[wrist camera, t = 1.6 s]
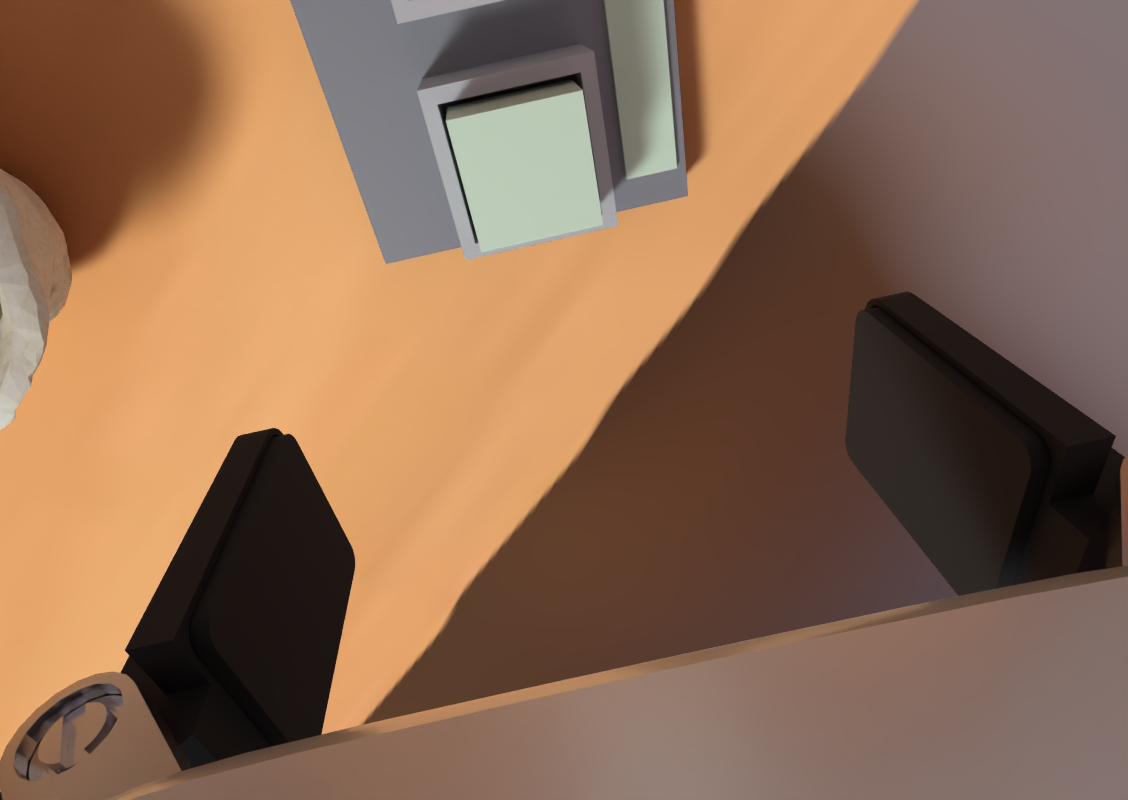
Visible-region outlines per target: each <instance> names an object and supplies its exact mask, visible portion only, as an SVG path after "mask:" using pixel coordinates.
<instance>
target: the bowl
mask: <svg viewBox="0 0 1128 800" xmlns="http://www.w3.org/2000/svg"><path fill="white" fill-rule="evenodd" d="M69 262H70V260H69V256H68V253H67V244H66V242H65V237H64V233H63V231H62V230H61V228H60V226H59V225H58V223H57V222H56V220H55V219H54V217H53V216H52V214H51V213H50V211H49V209H48V208H47V206H46V204H45V203H44V202H43V201H42V200H41V199H40V198H39V197H38V195H37V194H36V193H35V192H34V191H33V190H31V189H30V188H29V187H28V186H27V185H26V184H25V183H23V182H22V181H20V180H18V179H17V178H15V177H13V176H12V175H10V174H8V173H7V172H5V171H3V170H2V169H1V168H0V429H3V428H4V427H6V426H7V425H9V424H10V423H11V422H12V421H13V420H14V419H15V412H16V407H17V406H18V404H19V403H20V401H21V400H22V398H23V396H24V395H25V394H26V392H27V391H28V390H29V388H30V387H31V382H32V376H33V374H34V373H35V371H36V369H37V367H38V365H39V364H40V362H41V359H42V356H43V353H44V351H45V348H46V344H47V335H48V327H49V322H50V321H51V320H52V319H54V318H55V317H56V316H57V315H58V314H59V312H60V310H61V309H62V308H63V306H64V305H65V303H66V299H67V297H68V293H69V290H70V286H71V281H72V271H71V266H70V263H69Z"/></svg>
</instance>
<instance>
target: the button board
mask: <svg viewBox="0 0 1128 800" xmlns="http://www.w3.org/2000/svg"><path fill="white" fill-rule="evenodd" d="M290 1H291V4H292V6H293V9H294V12H295V15H296V17H297V20H298V23H299V26H300V29H301V31H302V34H303V37H304V40H305V42H306V45H307V48H308V51H309V53H310V56H311V59H312V62H313V64H314V67H315V70H316V73H317V75H318V78H319V81H320V84H321V86H322V89H323V92H324V95H325V98H326V100H327V103H328V106H329V109H330V111H331V114H332V117H333V120H334V122H335V125H336V128H337V131H338V133H339V136H340V139H341V142H342V144H343V147H344V150H345V153H346V155H347V158H348V161H349V164H350V166H351V169H352V172H353V175H354V178H355V180H356V183H357V186H358V189H359V191H360V194H361V197H362V200H363V202H364V205H365V208H366V211H367V213H368V216H369V219H370V222H371V224H372V227H373V230H374V233H375V235H376V238H377V241H378V244H379V247H380V249H381V252H382V255H383V258H384V260H385V263H386V264H388V263H392V262H397V261H401V260H406V259H410V258H414V257H419V256H423V255H428V254H432V253H437V252H441V251H446V250H450V249H454V248H459V247H462V250H463V254H464V257H465V260H468V259H473V258H477V257H481V256H486V255H490V254H495V253H499V252H504V251H508V250H512V249H517V248H521V247H526V246H530V245H535V244H539V243H543V242H548V241H552V240H557V239H561V238H566V237H570V236H574V235H579V234H583V233H588V232H592V231H597V230H601V229H605V228H610V227H614V226H618V221H617V213H616V212H618V211H623V210H627V209H632V208H636V207H641V206H645V205H650V204H654V203H658V202H663V201H667V200H672V199H676V198H681V197H685V196H688V190H687V176H686V162H685V149H684V135H683V121H682V108H681V94H680V80H679V67H678V53H677V39H676V26H675V12H674V0H290ZM570 79H571V80H573V81H574V82H575V83H576V84H577V85H578V86H579V87H580V88H581V89H582V90H583V96H584V102H585V109H586V115H587V122H588V128H589V135H590V142H591V148H592V155H593V161H594V168H595V175H596V181H597V188H598V194H599V201H600V207H601V214H602V221H603V225H601V226H596V227H592V228H588V229H583V230H579V231H574V232H570V233H565V234H561V235H556V236H552V237H548V238H543V239H539V240H534V241H530V242H525V243H521V244H517V245H512V246H508V247H503V248H499V249H494V250H490V251H486V252H481V250H480V246H479V242H478V238H477V235H476V231H475V227H474V224H473V220H472V216H471V212H470V209H469V205H468V201H467V198H466V194H465V190H464V186H463V183H462V179H461V175H460V172H459V168H458V164H457V160H456V157H455V153H454V149H453V146H452V142H451V138H450V135H449V131H448V127H447V123H446V116H447V108H448V107H449V106H454V105H458V104H463V103H467V102H472V101H476V100H481V99H485V98H489V97H494V96H498V95H503V94H507V93H512V92H516V91H521V90H525V89H530V88H534V87H538V86H543V85H547V84H552V83H556V82H561V81H565V80H570Z"/></svg>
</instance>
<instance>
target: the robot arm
mask: <svg viewBox="0 0 1128 800" xmlns="http://www.w3.org/2000/svg"><path fill="white" fill-rule="evenodd" d="M1115 437H1116V436H1115V435H1113V434H1112V433H1111V432H1109V431H1108V430H1106V429H1105V428H1103V427H1102V426H1101V425H1099V424H1097V423H1096V422H1095V421H1093V420H1092V419H1090V418H1089V417H1088V416H1086V415H1085V414H1083V413H1082V412H1081V411H1079V410H1078V409H1076V408H1075V407H1074V406H1072V405H1071V404H1069V403H1068V402H1066V401H1065V400H1064V399H1062V398H1061V397H1059V396H1058V395H1057V394H1055V393H1054V392H1052V391H1051V390H1049V389H1048V388H1047V387H1045V386H1043V385H1042V384H1041V383H1039V382H1038V381H1036V380H1035V379H1034V378H1032V377H1031V376H1029V375H1028V374H1027V373H1025V372H1024V371H1022V370H1021V369H1019V368H1018V367H1017V366H1015V365H1014V364H1012V363H1011V362H1010V361H1008V360H1007V359H1005V358H1004V357H1002V356H1001V355H1000V354H998V353H996V352H995V351H994V350H992V349H991V348H990V347H988V346H987V345H985V344H984V343H982V342H981V341H979V340H978V339H977V338H975V337H974V336H972V335H971V334H970V333H968V332H967V331H965V330H964V329H963V328H961V327H960V326H958V325H957V324H955V323H954V322H953V321H951V320H950V319H948V318H946V317H945V316H944V315H943V314H941V313H940V312H938V311H937V310H935V309H934V308H933V307H931V306H930V305H928V304H927V303H925V302H924V301H923V300H921V299H920V298H918V297H917V296H915V295H914V294H912V293H910V292H903V293H898V294H894V295H889V296H884V297H879V298H875V299H871V300H870V301H869V302H868V303H867V306H866V308H865V310H861V311H860V312H858V314H857V317H856V325H855V336H854V347H853V359H852V370H851V383H850V394H849V405H848V417H847V428H846V449H847V452H848V455H849V457H850V459H851V461H852V462H853V463H854V465H855V466H856V467H857V469H858V470H859V471H860V472H861V474H862V475H863V476H864V477H865V479H866V480H867V481H868V482H869V484H870V485H871V486H872V487H873V489H874V490H875V491H876V492H877V494H878V495H879V496H880V497H881V499H882V500H883V501H884V503H885V504H886V505H887V506H888V507H889V509H890V510H891V511H892V513H893V514H894V515H895V516H896V518H897V519H898V520H899V521H900V523H901V524H902V525H903V526H904V528H905V529H906V530H907V531H908V533H909V534H910V535H911V537H912V538H913V539H914V540H915V542H916V543H917V544H918V545H919V547H920V548H921V549H922V550H923V552H924V553H925V554H926V555H927V557H928V558H929V559H930V560H931V562H932V563H933V564H934V565H935V567H936V568H937V569H938V570H939V572H940V573H941V574H942V576H943V577H944V578H945V579H946V581H947V582H948V583H949V584H950V586H951V587H952V588H953V589H954V591H955V592H956V593H957V594H958V596H956V597H951V598H946V599H941V600H937V601H932V602H927V603H922V604H918V605H914V606H908V607H903V608H899V609H894V610H889V611H884V612H880V613H875V614H870V615H865V616H861V617H856V618H851V619H846V620H842V621H837V622H832V623H828V624H823V625H818V626H813V627H808V628H804V629H799V630H794V631H790V632H785V633H780V634H775V635H771V636H766V637H761V638H757V639H752V640H748V641H743V642H738V643H734V644H729V645H724V646H720V647H716V648H710V649H706V650H701V651H696V652H692V653H687V654H683V655H678V656H673V657H669V658H664V659H659V660H655V661H650V662H646V663H641V664H637V665H632V666H627V667H623V668H618V669H613V670H609V671H604V672H600V673H595V674H591V675H586V676H581V677H576V678H572V679H567V680H563V681H558V682H553V683H549V684H545V685H540V686H535V687H531V688H526V689H522V690H517V691H513V692H509V693H504V694H499V695H495V696H490V697H486V698H481V699H477V700H472V701H468V702H464V703H459V704H454V705H450V706H445V707H441V708H436V709H432V710H427V711H423V712H418V713H414V714H410V715H405V716H401V717H396V718H391V719H387V720H382V721H378V722H373V723H369V724H364V725H360V726H356V727H352V728H347V729H343V730H339V731H335V732H331V733H327V734H322V735H321V733H322V728H323V723H324V718H325V713H326V709H327V704H328V699H329V694H330V689H331V684H332V679H333V674H334V669H335V664H336V659H337V654H338V649H339V644H340V640H341V635H342V630H343V625H344V620H345V615H346V610H347V605H348V600H349V595H350V590H351V585H352V580H353V575H354V571H355V557H354V552H353V549H352V547H351V545H350V543H349V541H348V539H347V537H346V535H345V533H344V531H343V529H342V527H341V525H340V523H339V521H338V519H337V518H336V516H335V514H334V512H333V510H332V508H331V506H330V504H329V502H328V500H327V498H326V496H325V494H324V493H323V491H322V489H321V487H320V485H319V483H318V481H317V479H316V477H315V475H314V473H313V471H312V469H311V468H310V466H309V464H308V462H307V460H306V458H305V456H304V454H303V452H302V450H301V448H300V446H299V444H298V443H297V441H296V439H295V438H294V437H293V436H292V435H291V434H286V435H283V433H282V432H281V431H280V430H278V429H276V428H272V429H267V430H262V431H258V432H253V433H249V434H244V435H240V436H238V437H237V438H236V439H235V441H234V443H233V445H232V447H231V449H230V450H229V452H228V454H227V456H226V458H225V460H224V462H223V464H222V466H221V468H220V470H219V471H218V473H217V475H216V477H215V479H214V481H213V483H212V485H211V487H210V489H209V491H208V492H207V494H206V496H205V498H204V500H203V502H202V504H201V506H200V508H199V510H198V512H197V513H196V515H195V517H194V519H193V521H192V523H191V525H190V527H189V529H188V531H187V533H186V534H185V536H184V538H183V540H182V542H181V544H180V546H179V548H178V550H177V552H176V554H175V555H174V557H173V559H172V561H171V563H170V565H169V567H168V569H167V571H166V573H165V575H164V576H163V578H162V580H161V582H160V584H159V586H158V588H157V590H156V592H155V594H154V596H153V597H152V599H151V601H150V603H149V605H148V607H147V609H146V611H145V613H144V615H143V617H142V618H141V620H140V622H139V624H138V626H137V628H136V630H135V632H134V634H133V636H132V638H131V639H130V641H129V643H128V645H127V647H126V649H125V651H126V652H127V653H128V654H129V657H128V659H127V661H126V663H125V665H124V667H123V669H122V671H121V673H118V672H107V673H100V674H95V675H92V676H90V677H87V678H85V679H82V680H79V681H77V682H75V683H73V684H72V685H70V686H68V687H67V688H65V689H63V690H61V691H60V692H58V693H56V694H55V695H54V696H53V697H51V698H50V699H49V700H48V701H46V702H45V703H44V704H43V705H41V706H40V707H39V708H37V709H36V710H35V711H34V712H33V714H32V715H31V716H30V717H29V718H28V719H27V720H26V721H25V722H24V723H23V724H22V725H21V726H20V727H19V729H18V730H17V731H16V733H15V734H14V736H13V737H12V739H11V740H10V742H9V743H8V745H7V746H6V748H5V750H4V753H3V755H2V758H1V760H0V791H1V792H0V800H1128V456H1127V457H1124V456H1122V455H1121V454H1119V453H1118V452H1117V451H1115V450H1114V449H1113V448H1111V447H1112V445H1113V442H1114V439H1115Z"/></svg>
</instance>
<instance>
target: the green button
mask: <svg viewBox="0 0 1128 800" xmlns="http://www.w3.org/2000/svg"><path fill="white" fill-rule="evenodd" d="M446 123H447V127H448V131H449V135H450V138H451V142H452V146H453V149H454V153H455V157H456V160H457V164H458V168H459V172H460V175H461V179H462V183H463V186H464V190H465V194H466V198H467V201H468V205H469V209H470V212H471V216H472V220H473V224H474V227H475V231H476V235H477V238H478V242H479V246H480V250H481V252H486V251H490V250H494V249H499V248H503V247H508V246H512V245H517V244H521V243H525V242H530V241H534V240H539V239H543V238H548V237H552V236H556V235H561V234H565V233H570V232H574V231H579V230H583V229H588V228H592V227H596V226H601V225H603V221H602V214H601V207H600V201H599V194H598V188H597V181H596V175H595V168H594V161H593V155H592V148H591V142H590V135H589V128H588V122H587V115H586V109H585V102H584V96H583V90H582V89H581V88H580V87H579V86H578V85H577V84H576V83H575V82H574V81H573V80H571V79H570V80H565V81H561V82H556V83H552V84H547V85H543V86H538V87H534V88H530V89H525V90H521V91H516V92H512V93H507V94H503V95H498V96H494V97H489V98H485V99H481V100H476V101H472V102H467V103H463V104H458V105H454V106H449V107H448V108H447V116H446Z"/></svg>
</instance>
